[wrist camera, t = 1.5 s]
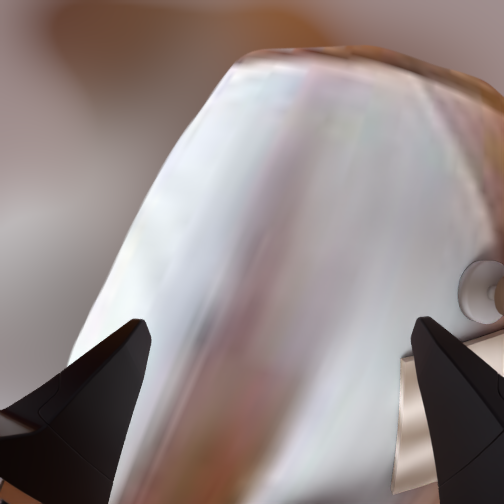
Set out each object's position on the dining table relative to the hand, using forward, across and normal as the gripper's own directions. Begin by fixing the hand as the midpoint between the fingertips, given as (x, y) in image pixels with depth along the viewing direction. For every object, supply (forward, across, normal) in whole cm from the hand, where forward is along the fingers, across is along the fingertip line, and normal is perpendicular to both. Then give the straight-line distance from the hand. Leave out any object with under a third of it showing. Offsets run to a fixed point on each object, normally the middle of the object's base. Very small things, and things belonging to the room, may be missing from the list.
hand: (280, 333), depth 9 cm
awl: (+13, -19, +9) cm, 24 cm away
